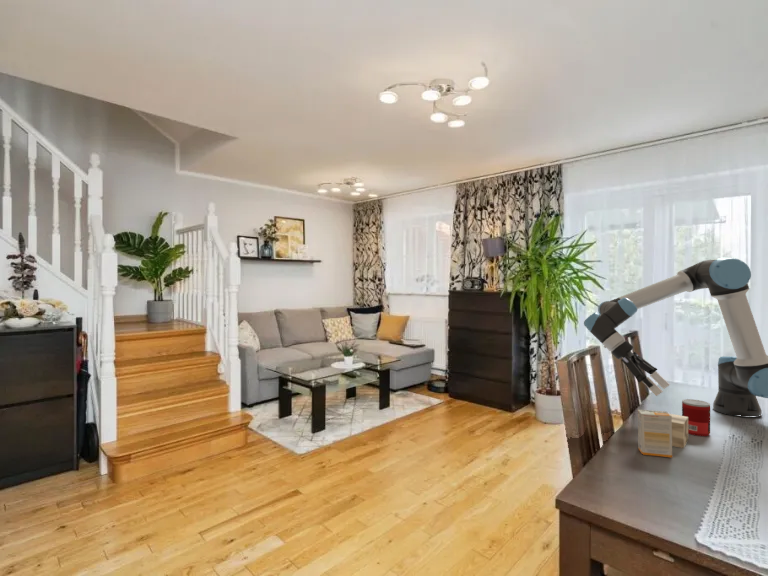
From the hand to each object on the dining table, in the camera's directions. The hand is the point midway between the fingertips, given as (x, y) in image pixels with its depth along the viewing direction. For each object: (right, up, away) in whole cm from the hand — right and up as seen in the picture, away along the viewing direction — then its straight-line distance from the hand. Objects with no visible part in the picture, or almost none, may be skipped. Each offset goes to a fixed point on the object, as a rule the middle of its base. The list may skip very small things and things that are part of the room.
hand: (663, 390), depth 152 cm
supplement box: (-19, -14, -24) cm, 34 cm away
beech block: (-7, -14, -13) cm, 20 cm away
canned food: (+7, -14, -6) cm, 17 cm away
